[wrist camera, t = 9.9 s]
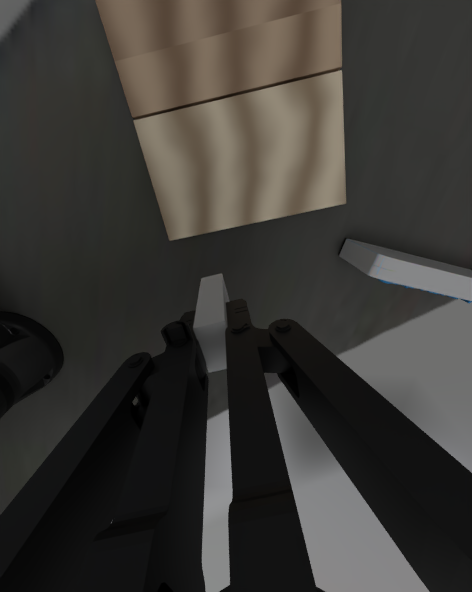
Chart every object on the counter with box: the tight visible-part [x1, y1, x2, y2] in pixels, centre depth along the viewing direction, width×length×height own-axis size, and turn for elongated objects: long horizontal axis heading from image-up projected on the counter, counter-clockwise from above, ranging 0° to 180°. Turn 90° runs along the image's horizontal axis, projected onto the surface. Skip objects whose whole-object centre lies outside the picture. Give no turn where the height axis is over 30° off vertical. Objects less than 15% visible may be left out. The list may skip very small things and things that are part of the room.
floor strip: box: [95, 0, 342, 120], centre depth 26 cm, size 24×10×1 cm, turn 101°
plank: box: [134, 70, 346, 241], centre depth 31 cm, size 24×14×1 cm, turn 101°
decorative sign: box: [339, 238, 472, 303], centre depth 34 cm, size 32×4×10 cm, turn 76°
